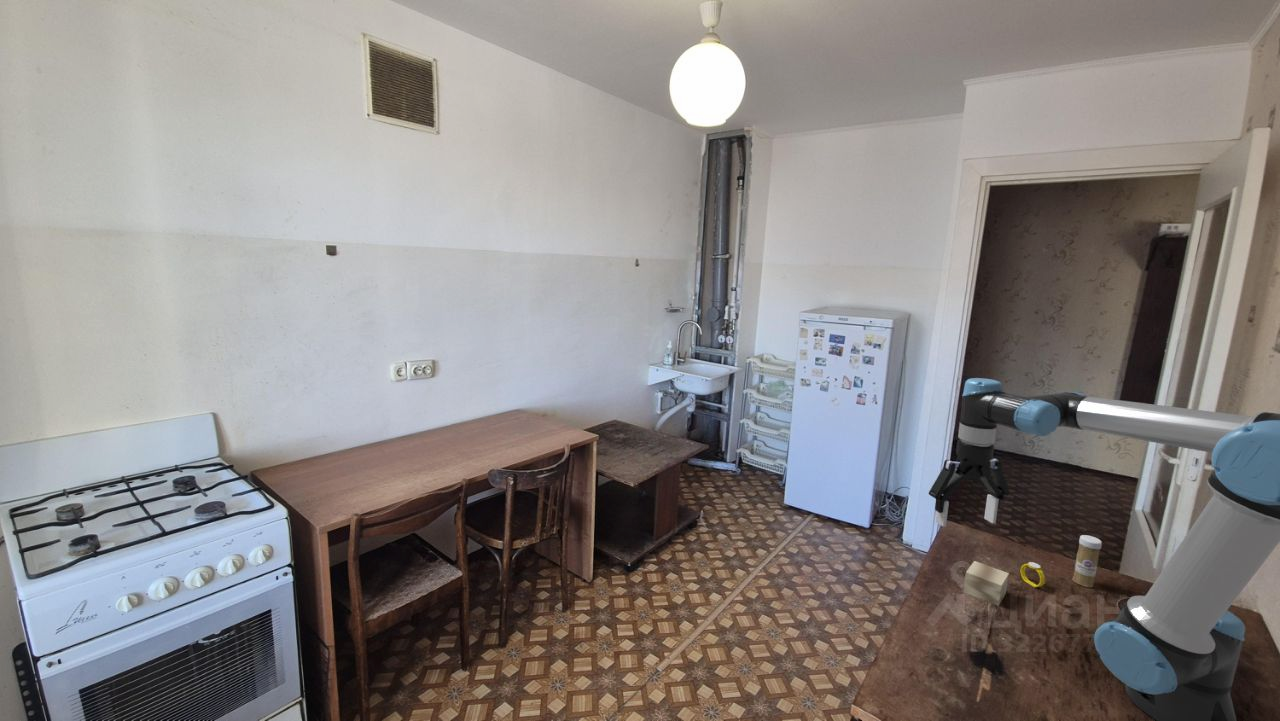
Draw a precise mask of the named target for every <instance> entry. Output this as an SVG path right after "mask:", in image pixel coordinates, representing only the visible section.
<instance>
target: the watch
mask: <svg viewBox="0 0 1280 721" xmlns="http://www.w3.org/2000/svg"><path fill="white" fill-rule="evenodd" d="M1027 567H1028V568H1030V569H1032V570H1035V571H1036V572H1037V573H1038V576H1039V583H1038V584H1036V583H1034V582H1033V581H1031V580H1029V579H1028V577H1027V575H1026V568H1027ZM1041 568H1042V567H1041V565H1040V564H1038V563H1036V562H1032V561H1029V562H1028V563H1024V564H1022V565H1021V568H1020V570H1019V572H1020V576H1021V578H1022V580H1023V581H1024V582H1025V583H1027V584H1028V585H1030V586H1031V587H1033V588H1038V587H1039V588H1040V587H1043V585H1045V583H1046V582H1045V581H1046V577H1045V574H1044V571H1043V570H1042V569H1041Z"/></svg>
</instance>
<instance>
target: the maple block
mask: <svg viewBox="0 0 1280 721" xmlns="http://www.w3.org/2000/svg"><path fill="white" fill-rule="evenodd" d="M1009 576H1010V573H1009V572H1006V571H1004V570H1001V569H998V568H995V567H992V566H990V565H987V564H984V563H982V562H979V561H975V560H974V561H973V562H972V563H971V565H970V566H969V567H968V569H966V571H965V575H964V586H963V591H962V592H963V593H965V594H968V595H969V596H972V597H974V598H977V599H980V600H981V601H982V600H983V601H984V602H987V603H988V604H989V603H990V604H992V605H995V606H996V607H999V606H1000V604H1001V602H1002V600H1003V599H1004V598H1005V595H1006V594H1007V590H1008V583H1009Z"/></svg>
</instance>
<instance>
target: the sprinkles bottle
mask: <svg viewBox="0 0 1280 721" xmlns="http://www.w3.org/2000/svg"><path fill="white" fill-rule="evenodd" d="M1078 543H1079V545H1078V550H1077V554H1076V558H1075V565H1074V572H1073V577H1072V581H1073V582H1074V583H1075V584H1077V585H1079V586H1081V587H1083V588H1084V587H1085V588H1093V587H1094V586H1095V585H1094V582H1095V577H1096V574H1097V567H1098V564H1099V556H1100V550H1101V549H1102V546H1103V543H1102V540H1100V539H1099V538H1098V537H1095V536H1092V535H1086V534H1082V535H1080V536H1079V540H1078Z"/></svg>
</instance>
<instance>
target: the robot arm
mask: <svg viewBox="0 0 1280 721" xmlns="http://www.w3.org/2000/svg"><path fill="white" fill-rule="evenodd" d="M963 387H964V388H963V392H962V395H961V396H962V397H961V399H962V400H961V413H960V419H959V427H958V435H957V437H958V440H957V443H956V451H955V454H956V456H957V459H956V460H955V461H952V460H949V459H945V460H944V461H943V467H942V469H941V471H940V472H939V474H938V475H937V478H936V479H935V481H934V483H933V484H932V486H931V488H930V490H929V492H928V495H929V496H931V498H933V499H935V504H934V511H935V512H936V514H935V522H936V523H937V524H938V525H940V526H942V527H947V520H948V512H949V511H948V510H949V506H950V505H949V503H950V502H949V500H948V499H949V497H951V495H952V494H953V493H954V492H955V491H956V490H957V488H959V486H960V485H961V484H963V483H964V482H966V481H967V480H974V479H976V480H980V481H981V482H982V483H983V485H984V486H985V488H986V489H987V490H988V491H989V493H990V494H987V495H986V496H987V497H986V503H985V510H984V518H983V519H984V520H986V521H988V522H989V523H991V524H996V522H997V515H998V510H999V509H1000V506H1001V500H1005V499H1006V497H1007V496H1009V495H1010V490H1009V487H1008V484H1007V481H1006V477H1005V475H1004V473H1003V469H1002V466H1003V463H1002V460H999V459H997V458H994V450H995V446H994V444H995V441H996V436H997V435H996V434H997V427H998V425H1000V426H1002V427H1006V428H1010V429H1013V430H1016V431H1020V432H1022V433H1025V434H1028V435H1034V436H1039V437H1046V436H1049V435H1050V434H1052V433H1053V432H1055V431H1056V430H1057V428H1059V427H1065V428H1070V429H1075V430H1076V429H1077V430H1082V431H1088V432H1093V433H1101V434H1105V435H1111V436H1115V437H1123V438H1128V439H1134V440H1140V441H1144V442H1151V443H1155V444H1160V445H1166V446H1172V447H1173V446H1174V447H1177V448H1178V447H1179V448H1183V449H1189V450H1194V451H1195V450H1196V451H1201V452H1206V453H1211V460H1210V461H1211V466H1212V468H1213V470H1212V472H1211V473H1210V475H1209V477H1208V478H1207V480H1206V483H1207V486H1208V487H1209V488H1210V490H1211V492H1212V493H1213V494H1212V496H1211V498H1210V499H1209V501H1208V502H1207V504H1206V505H1205V507H1204V508H1203V509H1202V512H1201V513H1200V514H1199V516H1198V517H1197V518H1196V519H1195V522H1194V523H1193V525H1192V526H1191V528H1190V529H1189V531H1188V532H1187V533H1186V534H1185V536H1184V537H1183V539H1182V541H1181V542H1180V544H1179V545H1178V547H1177V548H1176V550H1175V551H1174V553H1173V555H1172V556H1171V557H1170V559H1168V562H1167V563H1166V565H1165V567H1163V569H1162V571H1161V572H1160V574H1159V575H1158V576H1157V578H1156V580H1154V583H1153V584H1152V586H1151V587H1150V588H1149V590H1148V592H1147V593H1146V594H1145V595H1133V596H1130V597H1131V598H1130V599H1129V600H1128V601H1127V603H1126V604H1125V606H1124V607H1123V609H1122V610H1121V612H1119V614H1118V615H1117V616H1116V617H1115V619H1114V620H1112V621H1107V622H1104V623H1102V624H1101V625H1100V626H1098V628H1097V629H1096V631H1095V633H1094V636H1093V641H1094V647H1095V650H1096V652H1097V653H1098V654H1099V658H1100V661H1101V662H1102V663H1103V664H1104V666H1105V667H1106V668H1107V669H1108V670H1109V671H1110V672H1111V674H1113V676H1115V677H1116V678H1117V679H1118V680H1120V682H1122V683H1123V684H1124V685H1125V686H1124V687H1125V692H1126V694H1127V696H1128V697H1129V699H1130V700H1131V702H1132V703H1133V704H1134V705H1136V706H1137V707H1138V708H1139V709H1140V710H1141V711H1143V712H1144V713H1145V714H1146V715H1148V716H1149V717H1151V718H1152V719H1153V720H1155V721H1237V717H1236V713H1235V709H1234V703H1233V701H1232V696H1231V689H1232V686H1233V682H1234V678H1235V674H1236V670H1237V667H1238V662H1239V659H1240V655H1241V652H1242V647H1243V642H1245V641H1246V638H1245V632H1246V626H1245V624H1244V623H1243V622H1244V621H1242V620H1241V619H1240V618H1239V617H1238V616H1236V615H1235V614H1234V613H1233V612H1231V611H1229V610H1228V609H1229V608H1230V607H1231V605H1232V604H1233V603H1234V602H1235V600H1236V599H1237V598H1238V597H1239V595H1240V594H1241V593H1242V591H1243V590H1244V589H1245V588H1246V586H1247V585H1248V583H1250V581H1251V580H1252V579H1253V577H1254V576H1255V575H1256V573H1257V572H1258V571H1259V570H1260V568H1261V567H1262V565H1263V564H1264V563H1265V561H1266V560H1268V558H1269V557H1270V555H1271V554H1272V553H1273V551H1274V550H1275V549H1276V547H1277V546H1278V544H1279V543H1280V413H1276V412H1275V413H1274V412H1267V411H1262V412H1261V411H1259V412H1258V413H1256V414H1253V415H1251V416H1250V415H1249V416H1248V415H1243V414H1242V415H1241V414H1235V413H1234V414H1233V413H1227V412H1226V413H1225V412H1218V411H1209V410H1201V409H1192V408H1185V407H1177V406H1169V405H1168V406H1167V405H1163V404H1162V405H1161V404H1151V403H1146V402H1138V401H1137V402H1136V401H1128V400H1120V399H1111V398H1103V397H1097V396H1096V397H1095V396H1094V397H1093V396H1087V395H1085V394H1083V393H1079V392H1072V391H1069V392H1068V391H1062V392H1058V393H1049V394H1041V395H1040V394H1039V395H1028V396H1022V395H1017V394H1012V393H1007V392H1005V391H1003V383H1002V382H1001V381H998V380H995V379H990V378H982V377H981V378H980V377H975V378H974V377H973V378H972V377H971V378H968V379H967V380H965V383H964V386H963ZM988 470H990V473H991V475H990V473H989V472H988Z"/></svg>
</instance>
